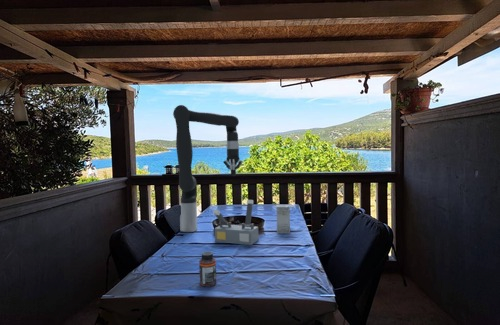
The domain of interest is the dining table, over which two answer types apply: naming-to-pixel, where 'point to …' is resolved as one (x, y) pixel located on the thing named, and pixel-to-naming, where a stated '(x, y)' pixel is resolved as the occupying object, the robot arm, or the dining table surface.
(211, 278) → the supplement bottle
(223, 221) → the lever with pale knob
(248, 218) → the lever grey
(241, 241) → the switch box
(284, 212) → the circuit breaker
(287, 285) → the dining table surface
